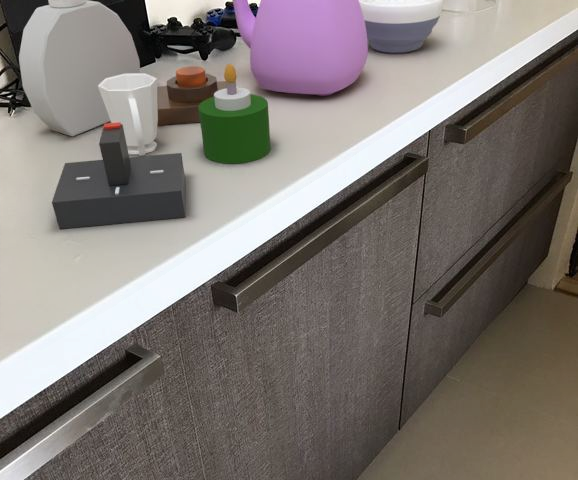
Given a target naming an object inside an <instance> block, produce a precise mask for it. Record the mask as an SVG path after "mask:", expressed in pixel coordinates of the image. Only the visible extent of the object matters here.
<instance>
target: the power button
mask: <svg viewBox="0 0 578 480" xmlns="http://www.w3.org/2000/svg"><path fill="white" fill-rule="evenodd" d="M205 74H206V69H205V68H204V67H202V66H197V65H196V66H195V65H191V66H190V65H189V66H184V67H180V68H178V69H176V70H175V77H176V78H177V85H179V86H197V85H201V84H204V83H206V75H205Z"/></svg>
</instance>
